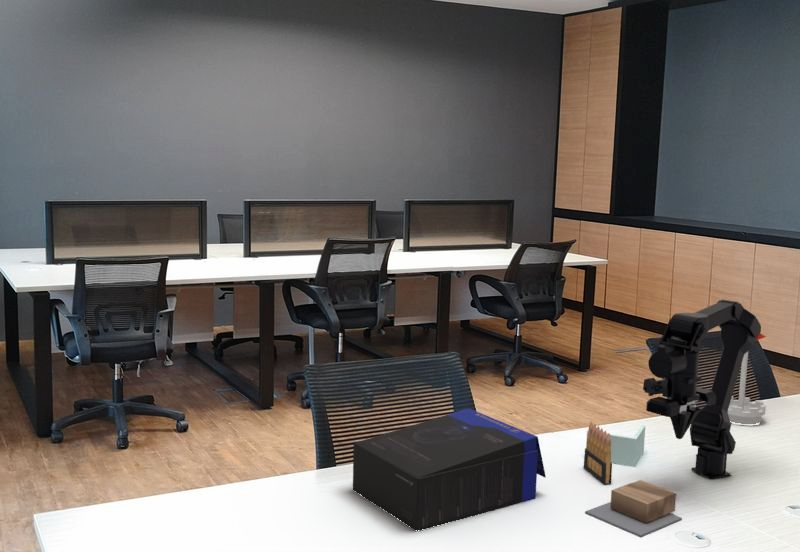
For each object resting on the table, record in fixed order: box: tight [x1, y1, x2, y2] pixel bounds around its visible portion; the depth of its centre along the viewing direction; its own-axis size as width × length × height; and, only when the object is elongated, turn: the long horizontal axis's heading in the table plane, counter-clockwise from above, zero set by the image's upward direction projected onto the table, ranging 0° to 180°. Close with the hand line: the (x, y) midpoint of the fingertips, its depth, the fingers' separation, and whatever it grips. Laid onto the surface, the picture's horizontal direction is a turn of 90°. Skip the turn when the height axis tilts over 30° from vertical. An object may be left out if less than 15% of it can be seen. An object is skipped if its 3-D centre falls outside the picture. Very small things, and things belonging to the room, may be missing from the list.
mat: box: [584, 501, 683, 538], centre depth 180 cm, size 14×14×1 cm
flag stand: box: [728, 333, 767, 424], centre depth 246 cm, size 13×13×30 cm
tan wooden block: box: [610, 479, 677, 523], centre depth 182 cm, size 4×9×10 cm
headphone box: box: [352, 408, 546, 531], centre depth 189 cm, size 25×35×14 cm
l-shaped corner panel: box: [585, 424, 646, 468], centre depth 216 cm, size 12×12×8 cm
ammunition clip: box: [583, 420, 613, 486], centre depth 201 cm, size 11×2×12 cm, turn 14°
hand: (679, 438), depth 193 cm, fingers closed
